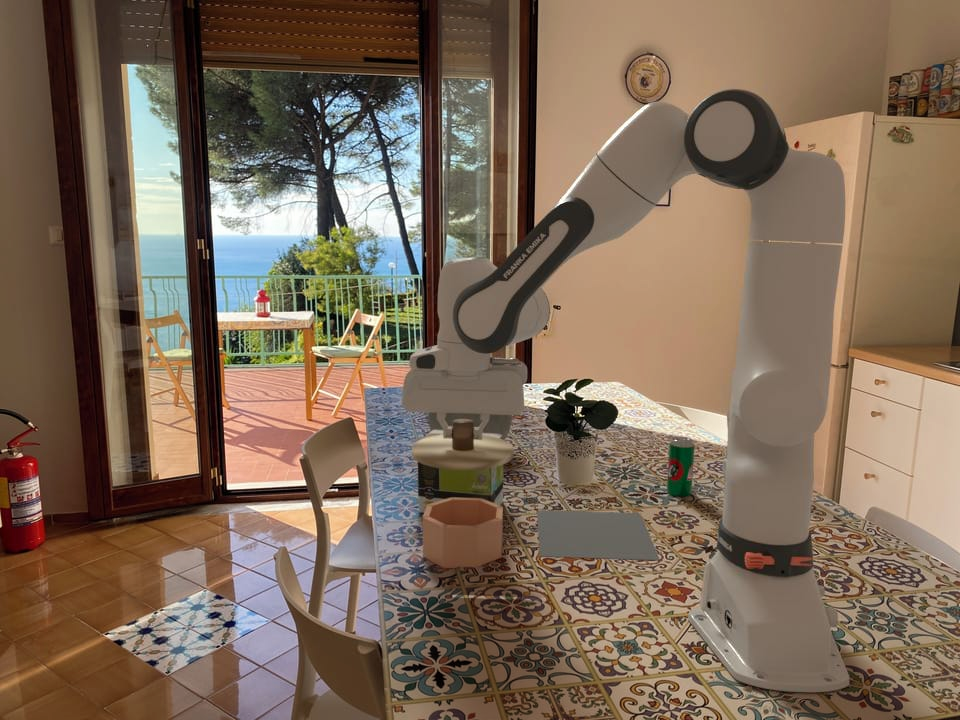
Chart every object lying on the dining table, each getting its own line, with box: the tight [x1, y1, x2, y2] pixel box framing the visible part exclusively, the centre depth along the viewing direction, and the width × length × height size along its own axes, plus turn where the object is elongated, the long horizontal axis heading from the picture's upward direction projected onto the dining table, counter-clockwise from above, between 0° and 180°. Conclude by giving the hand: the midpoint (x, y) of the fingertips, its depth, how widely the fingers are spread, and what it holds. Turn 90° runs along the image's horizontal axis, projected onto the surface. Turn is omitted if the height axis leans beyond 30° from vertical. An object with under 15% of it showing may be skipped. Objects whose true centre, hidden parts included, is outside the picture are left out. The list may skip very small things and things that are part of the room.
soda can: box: [666, 436, 696, 498], centre depth 147 cm, size 5×5×12 cm
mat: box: [536, 509, 661, 561], centre depth 128 cm, size 20×20×1 cm
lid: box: [411, 419, 515, 470], centre depth 118 cm, size 17×17×6 cm
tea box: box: [417, 429, 504, 514], centre depth 139 cm, size 15×10×15 cm, turn 74°
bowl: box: [427, 412, 513, 441], centre depth 174 cm, size 20×20×15 cm
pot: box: [422, 497, 504, 569], centre depth 121 cm, size 13×13×7 cm
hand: (462, 438), depth 118 cm, fingers closed on lid, 4 cm apart
